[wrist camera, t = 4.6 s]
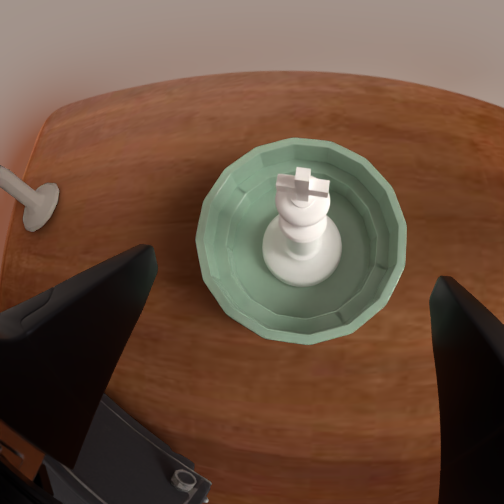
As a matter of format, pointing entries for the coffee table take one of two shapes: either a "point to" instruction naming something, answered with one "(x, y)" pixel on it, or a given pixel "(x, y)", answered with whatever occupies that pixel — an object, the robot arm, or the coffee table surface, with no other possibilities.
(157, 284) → the coffee table surface
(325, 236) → the chess piece
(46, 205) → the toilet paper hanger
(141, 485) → the camera
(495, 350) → the robot arm
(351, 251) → the bowl
